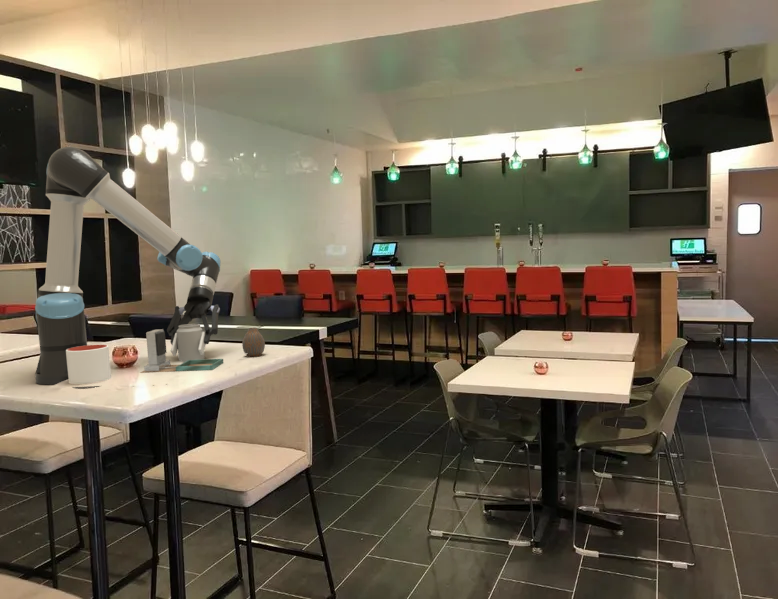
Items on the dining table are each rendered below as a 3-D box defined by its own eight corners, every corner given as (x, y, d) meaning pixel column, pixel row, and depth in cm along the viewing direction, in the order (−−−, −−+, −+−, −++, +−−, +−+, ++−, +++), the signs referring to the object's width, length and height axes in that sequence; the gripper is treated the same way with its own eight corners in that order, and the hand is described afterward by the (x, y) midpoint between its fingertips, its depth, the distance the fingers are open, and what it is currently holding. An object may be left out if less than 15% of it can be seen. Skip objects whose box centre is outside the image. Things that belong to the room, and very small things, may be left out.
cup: (81, 391, 157) (77, 352, 156) (62, 387, 163) (58, 349, 162) (119, 383, 165) (115, 345, 164) (99, 379, 171) (96, 343, 170)
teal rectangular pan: (140, 378, 170) (139, 368, 170) (155, 370, 180) (154, 361, 180) (212, 375, 169) (211, 365, 169) (223, 367, 179) (223, 358, 179)
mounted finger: (144, 371, 171) (141, 333, 170) (156, 366, 179) (153, 329, 178) (159, 371, 171) (156, 332, 170) (170, 365, 179) (167, 328, 178)
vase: (258, 357, 194) (257, 329, 193) (239, 357, 196) (237, 329, 195) (269, 353, 200) (267, 326, 200) (249, 353, 202) (248, 326, 202)
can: (174, 365, 187) (171, 325, 186) (196, 360, 193) (193, 322, 192) (188, 367, 182) (184, 326, 181) (210, 363, 188) (207, 323, 187)
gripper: (236, 299, 201) (224, 358, 186) (173, 302, 202) (157, 361, 187) (230, 284, 195) (217, 343, 181) (166, 287, 196) (148, 346, 181)
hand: (187, 352), depth 184 cm, fingers closed on can, 7 cm apart
